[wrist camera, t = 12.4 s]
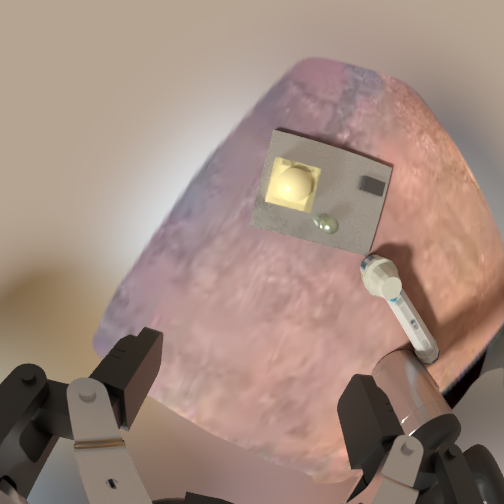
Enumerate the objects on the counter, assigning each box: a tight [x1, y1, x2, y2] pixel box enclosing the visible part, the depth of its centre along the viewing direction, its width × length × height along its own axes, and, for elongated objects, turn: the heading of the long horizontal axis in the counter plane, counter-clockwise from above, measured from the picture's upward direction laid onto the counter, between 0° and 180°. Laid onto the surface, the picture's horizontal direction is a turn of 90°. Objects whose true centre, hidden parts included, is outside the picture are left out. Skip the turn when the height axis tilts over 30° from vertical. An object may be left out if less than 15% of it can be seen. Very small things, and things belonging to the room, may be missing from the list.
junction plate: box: [250, 130, 392, 256], centre depth 32 cm, size 17×13×6 cm
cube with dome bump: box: [265, 157, 321, 213], centre depth 31 cm, size 5×5×7 cm
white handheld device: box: [360, 254, 440, 364], centre depth 37 cm, size 5×7×25 cm
